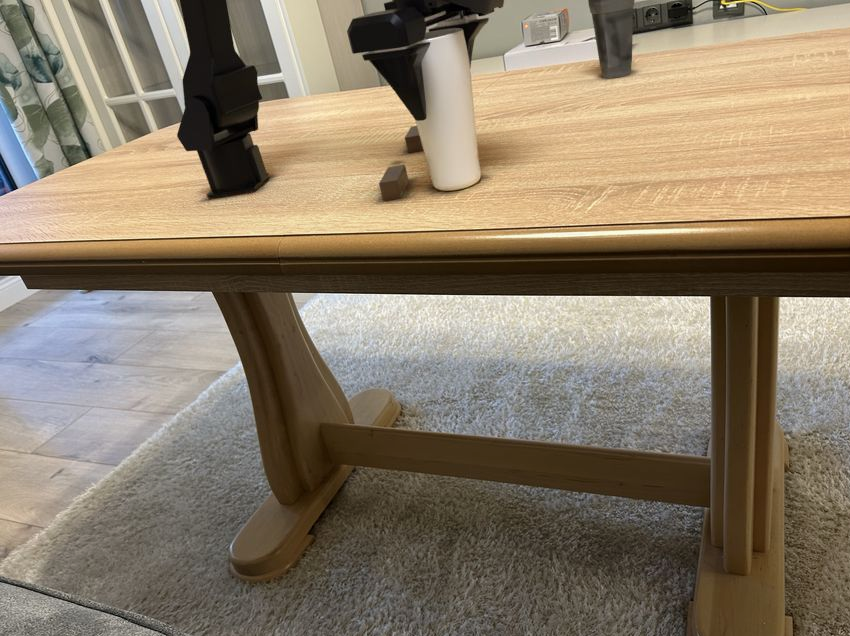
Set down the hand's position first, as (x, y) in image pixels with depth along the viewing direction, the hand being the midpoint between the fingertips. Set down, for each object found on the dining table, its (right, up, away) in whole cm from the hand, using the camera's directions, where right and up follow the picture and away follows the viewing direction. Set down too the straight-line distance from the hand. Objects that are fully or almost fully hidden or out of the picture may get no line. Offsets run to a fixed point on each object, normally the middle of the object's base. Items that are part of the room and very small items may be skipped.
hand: (442, 107), depth 72 cm
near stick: (-5, -7, +6) cm, 11 cm away
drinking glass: (+1, -7, +4) cm, 8 cm away
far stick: (-4, +3, +22) cm, 23 cm away
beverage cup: (+26, +19, +39) cm, 51 cm away
